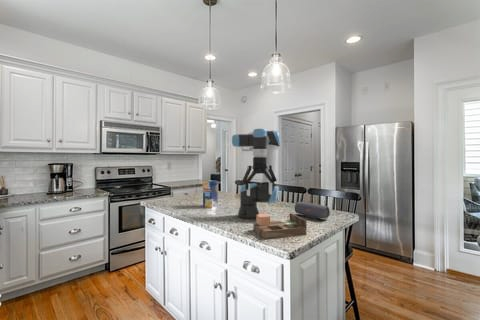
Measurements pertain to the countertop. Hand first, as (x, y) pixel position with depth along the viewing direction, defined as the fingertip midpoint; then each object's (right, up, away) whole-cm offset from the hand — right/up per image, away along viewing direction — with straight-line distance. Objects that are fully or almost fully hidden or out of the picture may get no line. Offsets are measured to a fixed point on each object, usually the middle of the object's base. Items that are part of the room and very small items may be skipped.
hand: (259, 194), depth 132 cm
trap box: (+11, -22, +3) cm, 25 cm away
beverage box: (-36, -20, +69) cm, 80 cm away
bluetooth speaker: (+40, -21, +36) cm, 57 cm away
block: (+2, -18, +4) cm, 18 cm away
